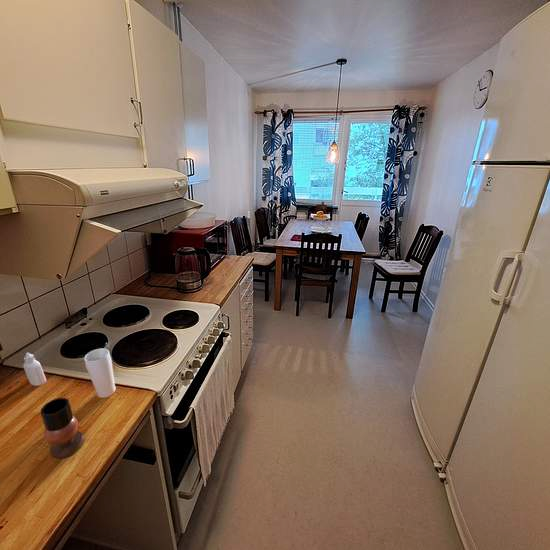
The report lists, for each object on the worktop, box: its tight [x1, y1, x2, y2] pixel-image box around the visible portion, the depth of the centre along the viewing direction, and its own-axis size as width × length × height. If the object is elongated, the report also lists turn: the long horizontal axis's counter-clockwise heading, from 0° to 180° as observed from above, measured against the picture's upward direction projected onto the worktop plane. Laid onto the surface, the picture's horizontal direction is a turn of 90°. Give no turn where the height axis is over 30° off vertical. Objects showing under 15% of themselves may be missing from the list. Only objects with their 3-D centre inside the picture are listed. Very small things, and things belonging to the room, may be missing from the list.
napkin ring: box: [40, 397, 74, 431], centre depth 71 cm, size 6×6×5 cm
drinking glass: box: [83, 347, 117, 399], centre depth 90 cm, size 7×7×15 cm
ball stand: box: [43, 415, 85, 460], centre depth 74 cm, size 7×7×10 cm
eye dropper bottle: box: [22, 352, 47, 387], centre depth 94 cm, size 4×6×12 cm
